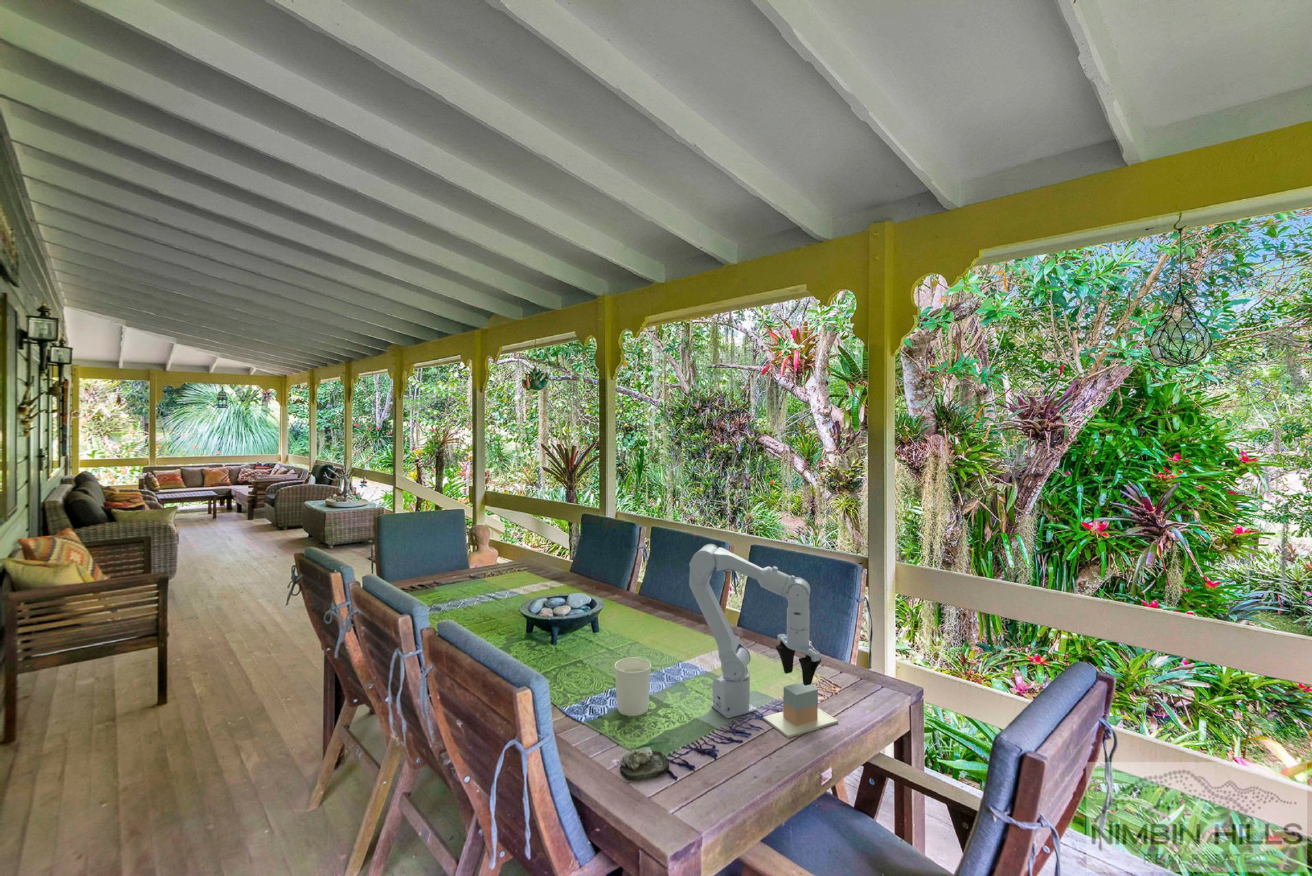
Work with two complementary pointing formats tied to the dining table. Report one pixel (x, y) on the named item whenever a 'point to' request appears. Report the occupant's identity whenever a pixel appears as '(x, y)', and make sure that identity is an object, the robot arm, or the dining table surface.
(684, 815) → the dining table surface
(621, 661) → the candle holder
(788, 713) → the terracotta brick
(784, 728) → the baseboard
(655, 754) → the dark green oval dish
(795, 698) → the slate brick
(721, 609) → the robot arm
